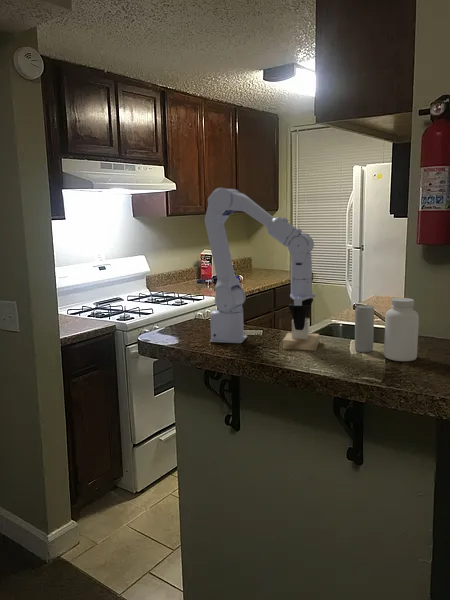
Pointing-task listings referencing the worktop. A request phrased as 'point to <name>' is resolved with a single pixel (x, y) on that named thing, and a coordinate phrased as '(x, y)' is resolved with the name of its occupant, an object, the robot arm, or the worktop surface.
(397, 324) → the pill bottle
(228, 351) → the worktop surface
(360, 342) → the beverage can
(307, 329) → the box
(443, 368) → the worktop surface
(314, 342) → the maple block
